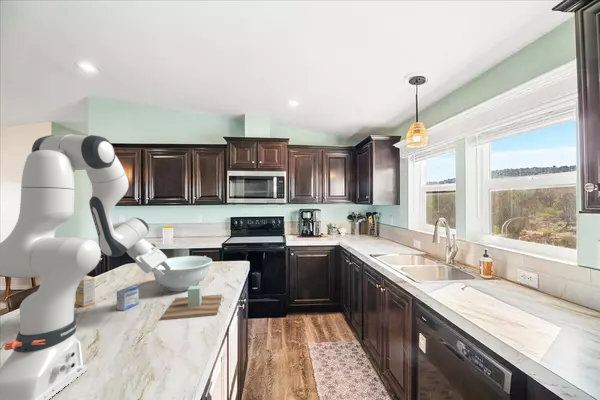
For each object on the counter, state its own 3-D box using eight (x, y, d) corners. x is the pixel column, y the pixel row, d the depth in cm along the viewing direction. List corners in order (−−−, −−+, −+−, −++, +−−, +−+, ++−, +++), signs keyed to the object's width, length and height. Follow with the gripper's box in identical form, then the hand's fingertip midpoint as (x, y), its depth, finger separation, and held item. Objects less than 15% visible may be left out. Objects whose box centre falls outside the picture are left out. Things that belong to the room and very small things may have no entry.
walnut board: (216, 315, 112) (216, 312, 112) (161, 320, 108) (161, 317, 108) (222, 296, 134) (222, 294, 134) (176, 300, 129) (176, 297, 129)
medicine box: (124, 310, 117) (124, 291, 117) (116, 310, 118) (116, 291, 118) (138, 304, 125) (138, 286, 125) (131, 303, 126) (130, 285, 126)
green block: (199, 306, 119) (199, 288, 119) (187, 307, 118) (187, 289, 118) (201, 302, 124) (201, 285, 124) (190, 303, 123) (190, 286, 123)
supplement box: (74, 304, 125) (74, 277, 125) (86, 301, 129) (86, 274, 129) (83, 307, 121) (83, 279, 121) (95, 304, 125) (95, 276, 126)
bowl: (184, 300, 129) (184, 271, 129) (135, 293, 140) (135, 266, 140) (223, 281, 160) (223, 257, 160) (181, 276, 170) (181, 254, 170)
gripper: (138, 250, 107) (164, 273, 109) (156, 243, 127) (177, 262, 129) (126, 262, 106) (152, 284, 108) (146, 252, 126) (167, 271, 128)
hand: (166, 272), depth 118 cm, fingers open, 8 cm apart
